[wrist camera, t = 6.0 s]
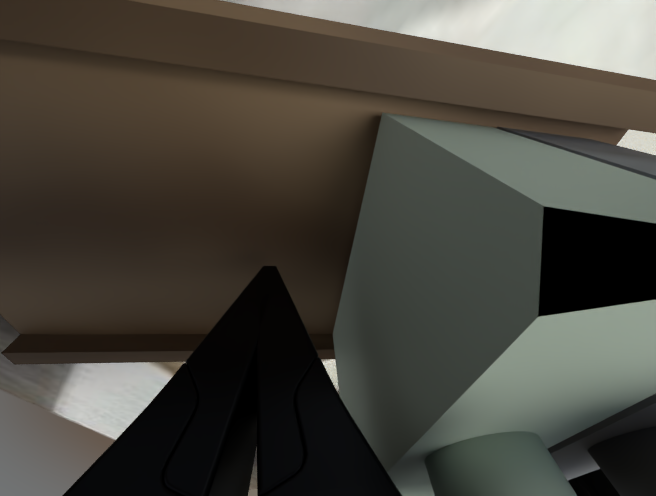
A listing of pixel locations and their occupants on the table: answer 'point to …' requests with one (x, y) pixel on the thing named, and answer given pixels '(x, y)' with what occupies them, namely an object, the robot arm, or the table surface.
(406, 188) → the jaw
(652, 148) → the table surface
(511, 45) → the table surface
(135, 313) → the brown boxy piece
